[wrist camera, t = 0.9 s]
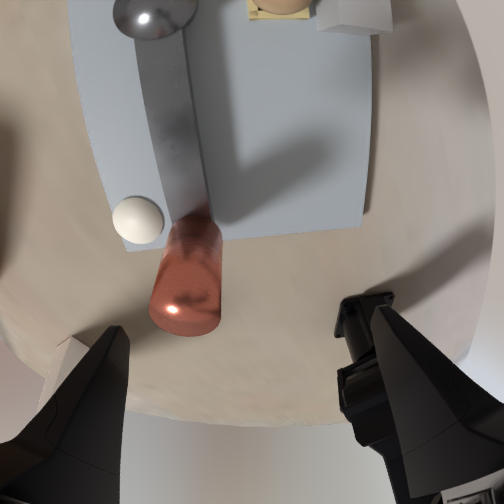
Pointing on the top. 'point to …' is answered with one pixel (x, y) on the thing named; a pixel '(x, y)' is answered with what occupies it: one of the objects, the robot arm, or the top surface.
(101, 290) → the top surface
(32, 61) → the top surface
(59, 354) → the milk
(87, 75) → the blue-grey rectangular board
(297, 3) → the nut
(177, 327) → the lever
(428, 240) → the top surface
